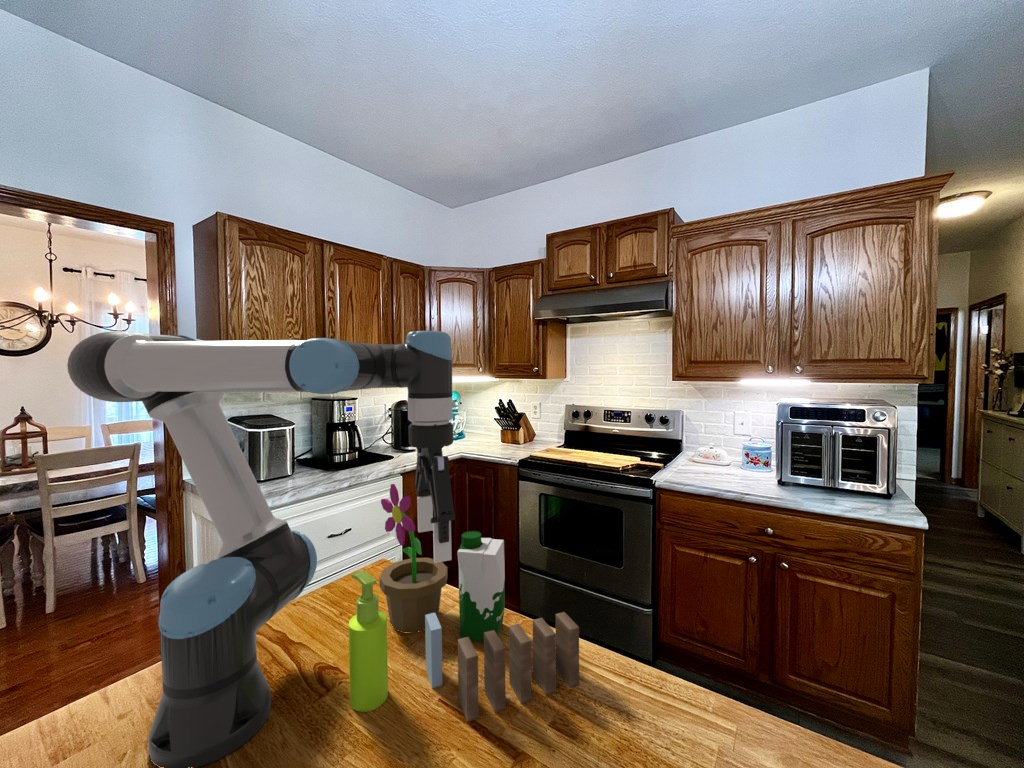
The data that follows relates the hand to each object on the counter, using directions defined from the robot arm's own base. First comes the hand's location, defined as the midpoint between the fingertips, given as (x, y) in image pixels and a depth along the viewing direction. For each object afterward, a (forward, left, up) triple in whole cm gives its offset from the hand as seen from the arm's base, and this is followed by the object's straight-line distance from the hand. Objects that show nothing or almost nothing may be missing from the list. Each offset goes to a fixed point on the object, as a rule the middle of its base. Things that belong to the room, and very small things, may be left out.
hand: (433, 544), depth 74 cm
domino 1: (0, 0, -24) cm, 24 cm away
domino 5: (+17, -9, -24) cm, 30 cm away
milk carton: (+12, +9, -24) cm, 28 cm away
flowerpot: (0, +19, -24) cm, 31 cm away
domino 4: (+12, -9, -24) cm, 28 cm away
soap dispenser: (-11, 0, -24) cm, 26 cm away
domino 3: (+8, -9, -24) cm, 26 cm away
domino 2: (+3, -9, -24) cm, 25 cm away
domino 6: (+21, -9, -24) cm, 33 cm away
